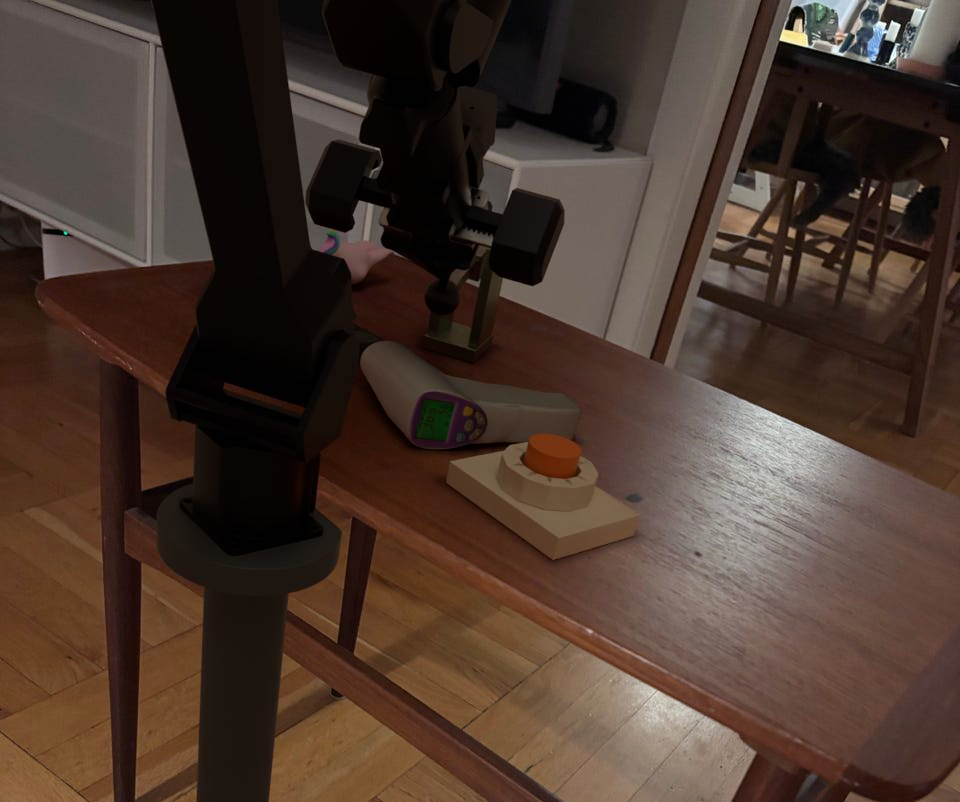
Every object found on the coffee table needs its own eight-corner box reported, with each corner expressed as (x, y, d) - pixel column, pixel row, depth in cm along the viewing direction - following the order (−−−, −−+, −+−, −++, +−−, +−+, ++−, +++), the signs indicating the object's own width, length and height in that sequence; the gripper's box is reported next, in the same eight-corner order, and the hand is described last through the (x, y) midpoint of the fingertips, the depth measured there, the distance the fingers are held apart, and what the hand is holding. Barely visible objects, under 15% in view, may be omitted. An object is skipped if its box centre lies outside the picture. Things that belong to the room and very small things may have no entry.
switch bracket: (478, 364, 89) (499, 254, 83) (417, 346, 90) (434, 236, 84) (496, 347, 94) (518, 242, 88) (438, 330, 94) (455, 224, 89)
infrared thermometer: (576, 457, 78) (409, 453, 71) (505, 394, 86) (348, 384, 79) (594, 404, 76) (423, 393, 68) (519, 344, 84) (359, 329, 76)
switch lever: (451, 326, 81) (455, 292, 79) (417, 316, 82) (420, 282, 80) (491, 274, 89) (496, 242, 87) (461, 265, 89) (464, 233, 87)
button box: (552, 560, 62) (565, 512, 60) (445, 482, 68) (454, 436, 66) (633, 536, 67) (648, 491, 65) (526, 465, 73) (537, 422, 71)
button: (548, 485, 64) (554, 461, 63) (512, 460, 66) (517, 437, 65) (585, 476, 66) (592, 453, 65) (549, 453, 68) (555, 430, 67)
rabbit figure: (313, 318, 94) (409, 275, 104) (311, 257, 90) (412, 218, 100) (265, 297, 96) (364, 257, 106) (262, 237, 92) (365, 200, 102)
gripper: (592, 76, 66) (584, 222, 81) (337, 12, 68) (376, 165, 83) (538, 217, 64) (540, 339, 79) (278, 146, 66) (328, 277, 81)
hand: (445, 275), depth 81 cm, fingers closed
